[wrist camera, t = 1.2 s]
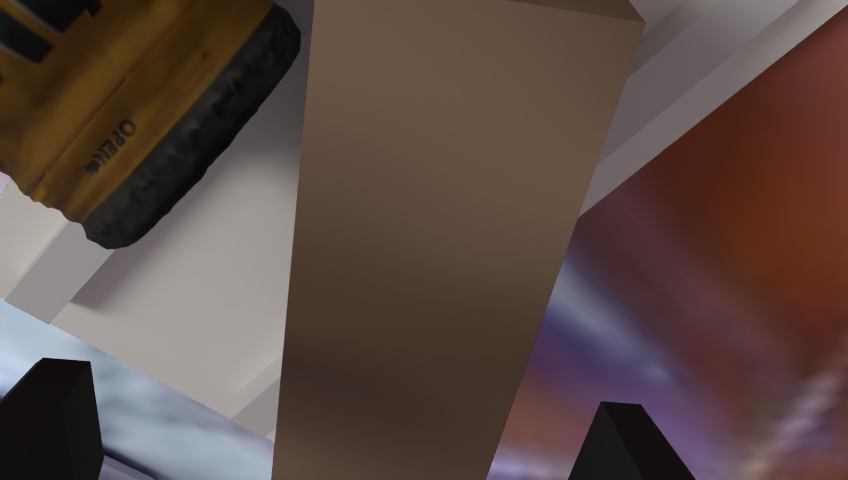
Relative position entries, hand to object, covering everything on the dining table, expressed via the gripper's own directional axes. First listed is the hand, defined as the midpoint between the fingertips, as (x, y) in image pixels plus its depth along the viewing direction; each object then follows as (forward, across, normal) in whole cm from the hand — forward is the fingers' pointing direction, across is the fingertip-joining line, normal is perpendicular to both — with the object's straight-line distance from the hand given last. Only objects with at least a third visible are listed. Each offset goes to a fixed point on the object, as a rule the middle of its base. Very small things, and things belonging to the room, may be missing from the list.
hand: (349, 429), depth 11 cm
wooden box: (+8, -1, 0) cm, 8 cm away
